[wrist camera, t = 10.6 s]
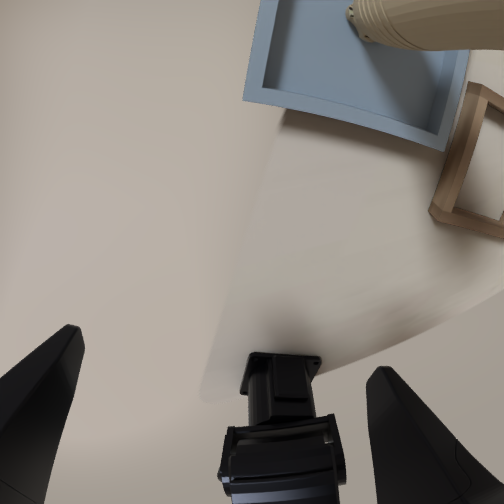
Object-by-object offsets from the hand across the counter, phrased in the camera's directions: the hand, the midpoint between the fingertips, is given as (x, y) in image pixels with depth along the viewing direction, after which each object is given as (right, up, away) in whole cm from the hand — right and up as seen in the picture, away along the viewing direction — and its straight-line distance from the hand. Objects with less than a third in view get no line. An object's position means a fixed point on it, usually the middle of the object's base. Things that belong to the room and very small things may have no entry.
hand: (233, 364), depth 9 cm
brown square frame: (+18, +9, +9) cm, 22 cm away
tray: (+7, +16, +4) cm, 18 cm away
